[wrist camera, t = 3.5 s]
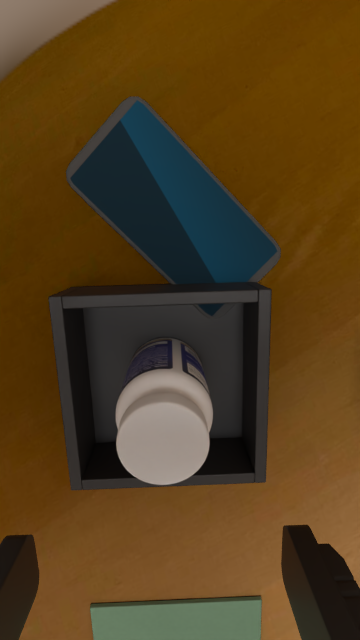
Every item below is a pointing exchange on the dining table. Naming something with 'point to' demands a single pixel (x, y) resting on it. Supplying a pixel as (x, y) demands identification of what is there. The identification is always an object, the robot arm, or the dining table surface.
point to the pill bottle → (164, 413)
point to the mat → (179, 619)
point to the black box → (119, 348)
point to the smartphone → (169, 204)
